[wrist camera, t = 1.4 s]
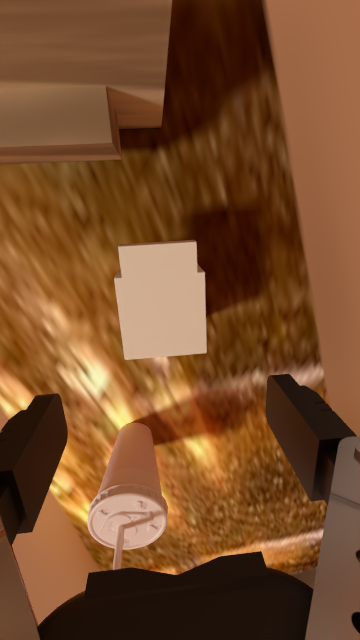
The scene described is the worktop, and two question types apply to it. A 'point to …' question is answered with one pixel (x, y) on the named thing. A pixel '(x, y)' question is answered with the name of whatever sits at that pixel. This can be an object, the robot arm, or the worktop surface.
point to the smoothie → (129, 495)
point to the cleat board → (79, 76)
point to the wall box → (161, 299)
